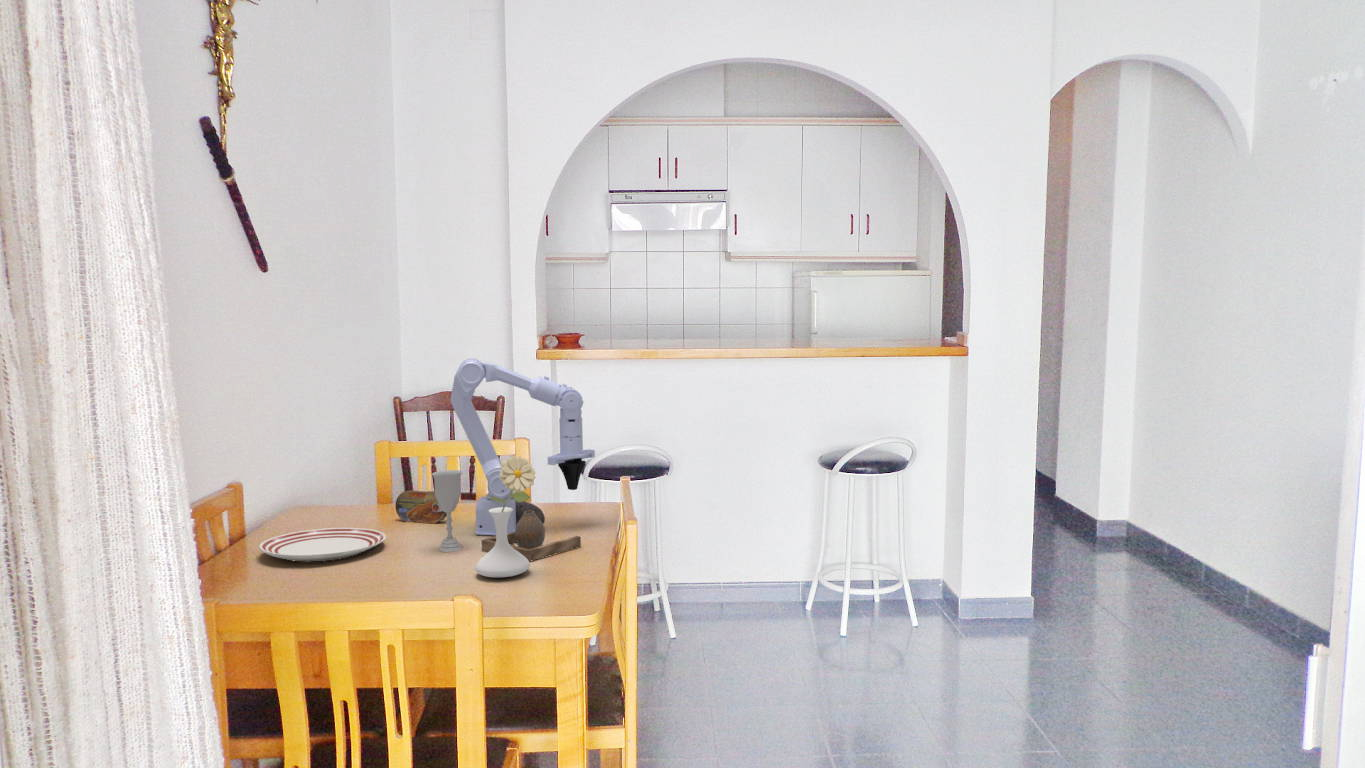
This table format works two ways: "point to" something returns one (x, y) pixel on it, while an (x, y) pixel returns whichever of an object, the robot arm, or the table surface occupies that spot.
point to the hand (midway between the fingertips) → (572, 489)
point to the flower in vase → (502, 555)
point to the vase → (529, 531)
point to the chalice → (448, 502)
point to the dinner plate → (322, 543)
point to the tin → (419, 507)
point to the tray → (537, 551)
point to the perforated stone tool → (527, 506)
